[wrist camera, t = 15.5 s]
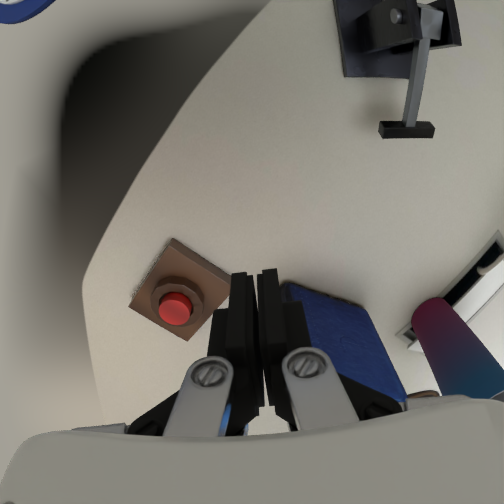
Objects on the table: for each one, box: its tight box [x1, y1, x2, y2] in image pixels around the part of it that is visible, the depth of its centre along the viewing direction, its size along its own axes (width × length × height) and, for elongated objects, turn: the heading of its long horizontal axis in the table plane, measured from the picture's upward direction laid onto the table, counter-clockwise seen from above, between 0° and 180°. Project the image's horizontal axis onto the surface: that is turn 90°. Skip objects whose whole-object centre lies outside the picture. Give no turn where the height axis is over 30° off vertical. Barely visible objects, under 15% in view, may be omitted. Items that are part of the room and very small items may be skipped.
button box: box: [129, 239, 231, 341], centre depth 42 cm, size 12×10×4 cm
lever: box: [378, 3, 443, 139], centre depth 23 cm, size 14×6×2 cm, turn 7°
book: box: [279, 283, 408, 402], centre depth 37 cm, size 14×5×20 cm, turn 68°
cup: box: [411, 298, 504, 402], centre depth 38 cm, size 10×10×22 cm
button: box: [159, 292, 192, 325], centre depth 40 cm, size 4×4×2 cm
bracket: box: [333, 0, 462, 79], centre depth 23 cm, size 10×9×14 cm
